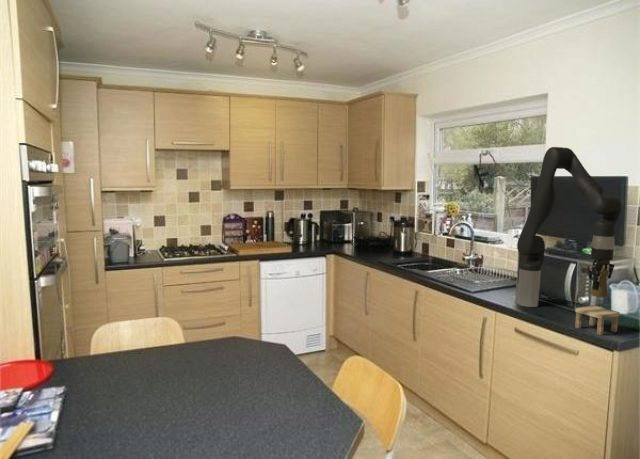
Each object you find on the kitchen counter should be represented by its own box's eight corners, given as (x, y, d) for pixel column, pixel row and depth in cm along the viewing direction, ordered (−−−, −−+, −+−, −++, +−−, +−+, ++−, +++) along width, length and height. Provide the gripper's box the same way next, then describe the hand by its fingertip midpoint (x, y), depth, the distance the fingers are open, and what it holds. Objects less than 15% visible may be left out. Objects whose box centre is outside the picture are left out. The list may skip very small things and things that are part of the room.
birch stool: (574, 327, 189) (575, 308, 188) (591, 323, 194) (592, 305, 193) (600, 335, 179) (602, 315, 179) (617, 331, 184) (619, 312, 184)
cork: (602, 293, 188) (605, 267, 187) (610, 297, 182) (613, 269, 181) (587, 293, 189) (589, 266, 187) (594, 297, 183) (596, 269, 181)
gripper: (604, 245, 190) (600, 286, 192) (582, 246, 183) (578, 289, 185) (623, 247, 183) (619, 290, 185) (600, 249, 177) (597, 293, 179)
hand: (599, 289), depth 185 cm, fingers closed on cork, 3 cm apart
